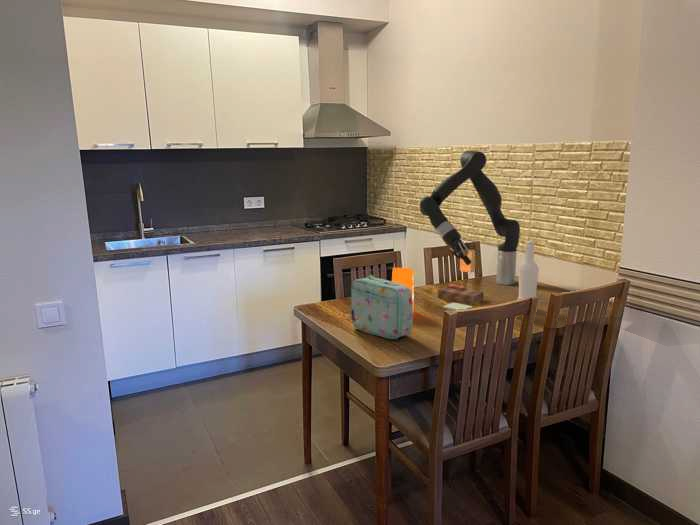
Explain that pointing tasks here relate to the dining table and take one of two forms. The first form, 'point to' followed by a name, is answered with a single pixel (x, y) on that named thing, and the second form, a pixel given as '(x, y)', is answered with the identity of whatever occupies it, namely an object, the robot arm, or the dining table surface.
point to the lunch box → (381, 307)
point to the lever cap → (471, 257)
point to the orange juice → (404, 278)
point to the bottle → (528, 273)
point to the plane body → (460, 294)
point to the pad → (456, 306)
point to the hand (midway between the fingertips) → (471, 263)
